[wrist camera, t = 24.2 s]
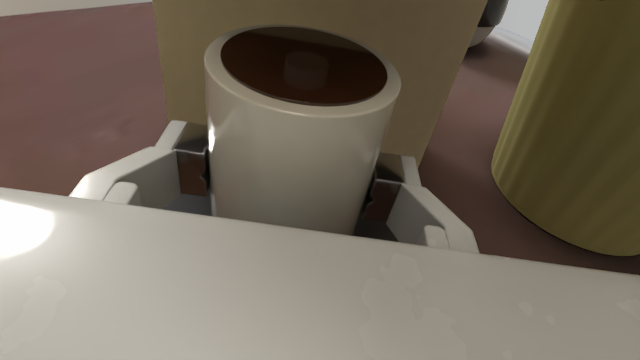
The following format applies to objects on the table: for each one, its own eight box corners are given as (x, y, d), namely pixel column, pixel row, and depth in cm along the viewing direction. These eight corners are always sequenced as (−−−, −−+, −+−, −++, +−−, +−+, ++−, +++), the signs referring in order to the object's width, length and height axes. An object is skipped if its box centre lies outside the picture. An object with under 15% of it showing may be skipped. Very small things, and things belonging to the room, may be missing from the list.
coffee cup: (342, 219, 18) (392, 38, 12) (341, 324, 14) (415, 129, 8) (229, 203, 18) (229, 10, 12) (197, 306, 14) (173, 91, 8)
